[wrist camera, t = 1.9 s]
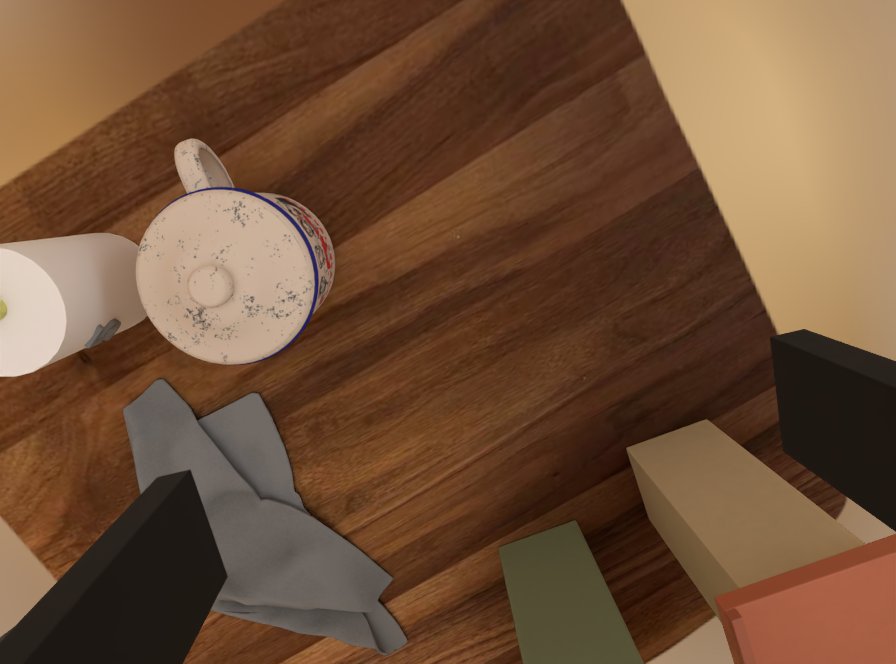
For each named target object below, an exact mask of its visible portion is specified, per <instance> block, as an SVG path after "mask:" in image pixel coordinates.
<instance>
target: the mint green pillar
mask: <svg viewBox="0 0 896 664" xmlns="http://www.w3.org/2000/svg"><path fill="white" fill-rule="evenodd" d="M498 550H499V555H500V559H501V564H502V569H503V573H504V578H505V583H506V587H507V592H508V596H509V601H510V606H511V610H512V615H513V619H514V624H515V629H516V633H517V638H518V643H519V647H520V652H521V656H522V661H523V664H644V662H643V660H642V658H641V656H640V654H639V652H638V650H637V648H636V646H635V643H634V641H633V639H632V637H631V635H630V633H629V631H628V629H627V627H626V624H625V622H624V620H623V618H622V616H621V614H620V612H619V610H618V608H617V606H616V603H615V601H614V599H613V597H612V595H611V593H610V591H609V589H608V587H607V584H606V582H605V580H604V578H603V576H602V574H601V572H600V570H599V568H598V566H597V563H596V561H595V559H594V557H593V555H592V553H591V551H590V549H589V547H588V544H587V542H586V540H585V538H584V536H583V534H582V532H581V530H580V528H579V526H578V523H577V521H576V520H574V521H571V522H568V523H566V524H563V525H560V526H557V527H554V528H552V529H549V530H546V531H543V532H540V533H537V534H535V535H532V536H529V537H526V538H523V539H521V540H518V541H515V542H512V543H509V544H506V545H504V546H501V547H499V548H498Z"/></svg>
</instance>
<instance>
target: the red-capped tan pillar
mask: <svg viewBox="0 0 896 664" xmlns="http://www.w3.org/2000/svg"><path fill="white" fill-rule="evenodd" d="M626 450H627V453H628V456H629V459H630V462H631V465H632V468H633V471H634V475H635V478H636V481H637V484H638V487H639V490H640V493H641V496H642V499H643V502H644V505H645V508H646V511H647V515H648V518H649V520H650V521H651V523H652V524H653V526H654V527H655V529H656V530H657V531H658V533H659V534H660V536H661V537H662V539H663V540H664V541H665V543H666V544H667V546H668V547H669V548H670V550H671V551H672V553H673V554H674V556H675V557H676V558H677V560H678V561H679V563H680V564H681V566H682V567H683V568H684V570H685V571H686V573H687V574H688V576H689V577H690V578H691V580H692V581H693V583H694V584H695V586H696V587H697V588H698V590H699V591H700V593H701V594H702V596H703V597H704V598H705V600H706V601H707V603H708V604H709V605H710V607H711V608H712V610H713V611H714V613H715V614H716V615H717V617H718V618H719V620H720V621H721V623H722V625H723V628H724V631H725V635H726V638H727V641H728V644H729V647H730V651H731V654H732V657H733V661H734V664H896V534H894V535H891V536H888V537H886V538H883V539H880V540H877V541H874V542H872V543H868V544H865V543H864V542H862V541H861V540H860V539H859V538H857V537H856V536H855V535H854V534H852V533H851V532H850V531H849V530H847V529H846V528H845V527H843V526H842V525H841V524H840V523H838V522H837V521H836V520H835V519H833V518H832V517H831V516H829V515H828V514H827V513H826V512H824V511H823V510H822V509H821V508H819V507H818V506H817V505H815V504H814V503H813V502H812V501H810V500H809V499H808V498H807V497H805V496H804V495H803V494H801V493H800V492H799V491H798V490H796V489H795V488H794V487H793V486H791V485H790V484H789V483H787V482H786V481H785V480H784V479H782V478H781V477H780V476H779V475H777V474H776V473H775V472H773V471H772V470H771V469H770V468H768V467H767V466H766V465H764V464H763V463H762V462H761V461H759V460H758V459H757V458H756V457H754V456H753V455H752V454H750V453H749V452H748V451H747V450H745V449H744V448H743V447H742V446H740V445H739V444H738V443H736V442H735V441H734V440H733V439H731V438H730V437H729V436H728V435H726V434H725V433H724V432H722V431H721V430H720V429H719V428H717V427H716V426H715V425H714V424H712V423H711V422H710V421H708V420H707V419H705V420H702V421H700V422H697V423H694V424H691V425H689V426H686V427H683V428H680V429H677V430H675V431H672V432H669V433H666V434H663V435H661V436H658V437H655V438H652V439H649V440H647V441H644V442H641V443H638V444H635V445H633V446H630V447H627V448H626Z"/></svg>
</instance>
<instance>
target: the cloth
mask: <svg viewBox="0 0 896 664" xmlns="http://www.w3.org/2000/svg"><path fill="white" fill-rule="evenodd" d="M123 413H124V418H125V422H126V427H127V431H128V436H129V440H130V444H131V449H132V453H133V457H134V463H135V468H136V473H137V479H138V484H139V490H140V495H141V494H142V493H143V491H144V490H145V489H146V488H147V487H148V486H149V485H150V484H151V483H152V482H153V481H154V480H155V479H156V478H157V477H160V476H164V475H168V474H173V473H177V472H181V471H186V470H190V469H191V472H192V475H193V478H194V481H195V483H196V486H197V489H198V492H199V495H200V498H201V501H202V504H203V506H204V509H205V512H206V515H207V518H208V521H209V524H210V527H211V529H212V532H213V535H214V538H215V541H216V544H217V547H218V550H219V552H220V555H221V558H222V561H223V564H224V567H225V570H226V572H227V575H228V577H227V579H226V581H225V583H224V585H223V587H222V589H221V591H220V593H219V594H218V596H217V598H216V600H215V602H214V604H213V606H212V608H211V611H215V612H219V613H222V614H226V615H230V616H234V617H237V618H241V619H245V620H249V621H253V622H257V623H262V624H267V625H272V626H277V627H281V628H284V629H287V630H290V631H293V632H297V633H301V634H309V635H317V636H325V637H333V638H335V639H337V640H340V641H342V642H344V643H346V644H349V645H353V646H359V647H366V648H372V649H376V650H377V652H378V653H379V654H382V655H389V654H390V653H392V652H394V651H395V650H397V649H399V648H401V647H402V646H404V645H405V644H406V642H407V641H408V639H407V638H406V636H405V634H404V633H403V631H402V629H401V627H400V626H399V624H398V623H397V621H396V620H395V619H394V618H393V617H392V615H391V614H390V613H389V612H388V611H387V610H386V608H385V607H384V606H383V605H382V604H381V603H380V601H379V600H378V599H379V597H380V594H381V593H382V592H383V591H384V589H385V588H386V587H387V586H388V585H389V583H390V582H391V581H392V580H393V578H392V577H391V576H390V575H389V574H388V573H386V572H385V571H384V570H383V569H382V568H381V567H379V566H378V565H377V564H376V563H375V562H373V561H372V560H371V559H370V558H369V557H368V556H366V555H365V554H364V553H363V552H362V551H360V550H359V549H358V548H356V547H355V546H354V545H352V544H351V543H349V542H348V541H347V540H345V539H344V538H342V537H341V536H339V535H338V534H337V533H335V532H334V531H332V530H331V529H330V528H328V527H327V526H325V525H324V524H323V523H321V522H320V521H318V520H317V519H316V518H314V517H312V516H311V515H310V514H309V513H308V512H307V511H306V509H305V508H304V506H303V504H302V501H301V498H300V496H299V494H297V493H296V492H295V491H294V485H293V476H292V470H291V466H290V463H289V459H288V456H287V453H286V449H285V447H284V444H283V442H282V440H281V437H280V435H279V433H278V430H277V428H276V426H275V423H274V421H273V419H272V417H271V415H270V413H269V411H268V409H267V407H266V406H265V404H264V402H263V400H262V398H261V396H260V394H259V393H254V392H252V393H250V394H248V395H246V396H244V397H242V398H240V399H239V400H237V401H235V402H233V403H231V404H229V405H227V406H225V407H223V408H221V409H219V410H217V411H215V412H213V413H211V414H209V415H207V416H205V417H203V418H201V419H199V420H197V419H196V417H195V415H194V413H193V411H192V409H191V407H190V406H189V405H188V404H187V403H186V402H185V401H184V400H183V399H182V398H181V397H180V396H179V395H178V393H177V392H176V391H175V390H174V389H173V388H172V387H171V386H170V385H169V384H168V383H167V382H166V380H165V379H157V380H156V381H155V382H154V383H153V384H152V385H151V386H150V387H149V388H148V389H147V390H146V391H145V392H144V393H143V394H142V395H141V396H140V397H139V398H137V399H136V400H135V401H133V402H132V403H131V404H129V405H128V406H127V407H125V408H124V409H123Z"/></svg>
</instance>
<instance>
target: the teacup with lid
mask: <svg viewBox="0 0 896 664" xmlns="http://www.w3.org/2000/svg"><path fill="white" fill-rule="evenodd" d="M175 163H176V167H177V170H178V173H179V176H180V178H181V181H182V183H183V185H184V187H185V190H186V192H187V194H185V195H183V196H181V197H179V198H177V199H176V200H174V201H172V202H171V203H170V204H168V205H167V206H166V207H165V208H164V209H162V210H161V211H160V212H159V213H158V215H157V216H156V217H155V218H154V219H153V221H152V222H151V223H150V225H149V227H148V228H147V230H146V232H145V234H144V236H143V238H142V241H141V243H140V246H139V250H138V254H137V259H136V282H137V288H138V293H139V296H140V299H141V302H142V305H143V307H144V309H145V311H146V313H147V315H148V317H149V319H150V320H151V321H152V323H153V324H154V326H155V327H156V328H157V329H158V331H159V332H160V333H161V334H162V335H163V336H164V337H165V338H166V339H167V340H168V341H169V342H171V343H172V344H173V345H174V346H176V347H177V348H179V349H180V350H182V351H184V352H185V353H187V354H189V355H191V356H193V357H196V358H198V359H201V360H204V361H208V362H212V363H217V364H224V365H243V364H250V363H255V362H259V361H262V360H265V359H267V358H270V357H272V356H274V355H276V354H278V353H279V352H281V351H282V350H284V349H285V348H287V347H288V346H289V345H290V344H291V343H293V342H294V341H295V340H296V339H297V337H298V336H299V335H300V334H301V333H302V331H303V330H304V329H305V327H306V325H307V324H308V322H309V320H310V318H311V316H312V314H313V313H314V312H315V311H316V310H317V309H318V308H319V307H320V306H321V304H322V303H323V302H324V300H325V299H326V297H327V295H328V293H329V291H330V289H331V286H332V283H333V279H334V274H335V255H334V250H333V246H332V243H331V240H330V237H329V235H328V233H327V231H326V229H325V228H324V226H323V225H322V223H321V222H320V221H319V219H318V218H317V217H316V216H315V215H314V214H313V213H312V212H311V211H310V210H308V209H307V208H306V207H305V206H303V205H301V204H300V203H298V202H296V201H294V200H293V199H290V198H288V197H285V196H281V195H278V194H272V193H253V192H250V191H247V190H243V189H238V188H235V187H234V185H233V183H232V181H231V179H230V177H229V175H228V173H227V171H226V169H225V167H224V166H223V164H222V163H221V161H220V160H219V158H218V157H217V156H216V154H215V153H214V152H213V151H212V150H211V149H210V148H209V147H208V146H207V145H206V144H204V143H203V142H201V141H200V140H197V139H188V140H185V141H183V142H180V143H179V144H178V145H177V146H176V148H175Z"/></svg>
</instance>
